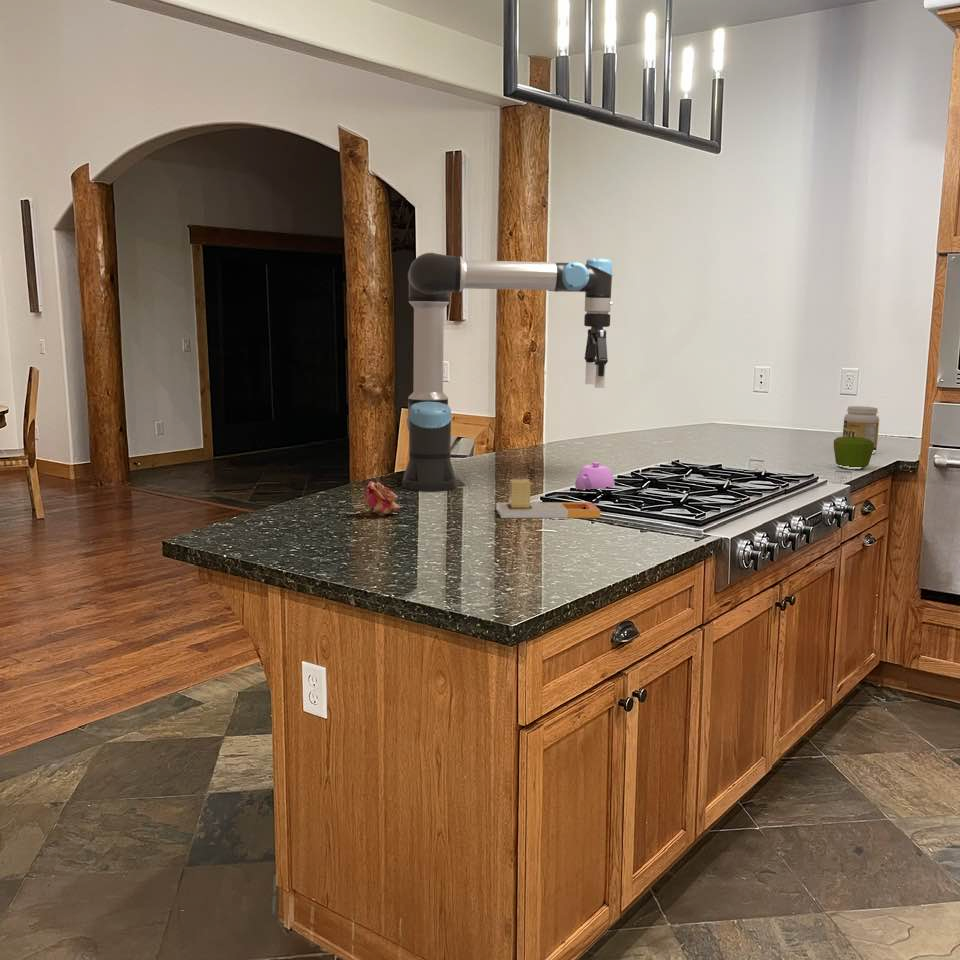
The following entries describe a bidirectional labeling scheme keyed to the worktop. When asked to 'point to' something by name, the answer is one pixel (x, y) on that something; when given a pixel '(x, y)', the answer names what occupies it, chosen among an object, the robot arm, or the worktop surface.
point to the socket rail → (550, 510)
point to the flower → (380, 499)
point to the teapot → (594, 477)
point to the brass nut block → (519, 494)
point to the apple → (853, 451)
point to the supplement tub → (861, 423)
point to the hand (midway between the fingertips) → (594, 386)
